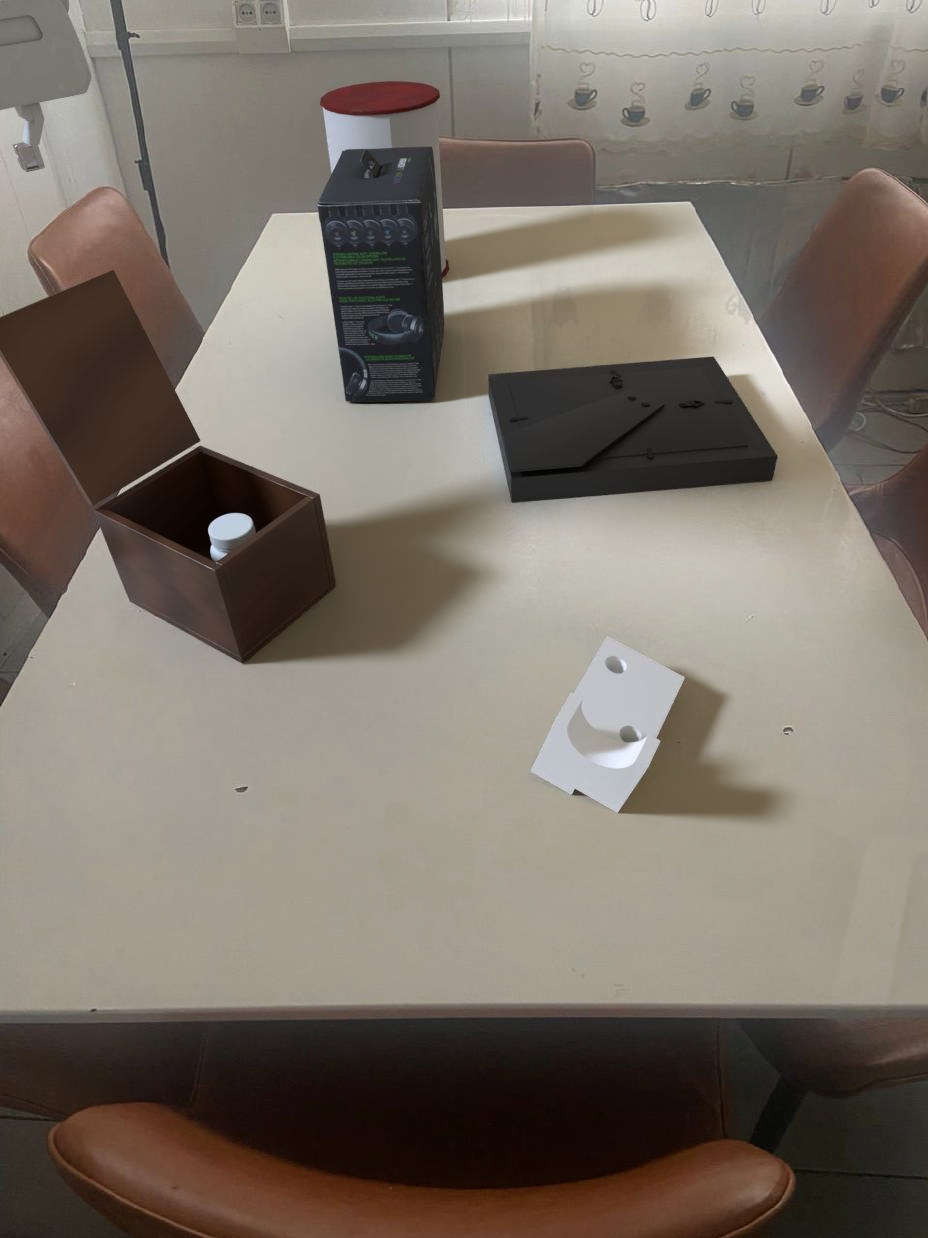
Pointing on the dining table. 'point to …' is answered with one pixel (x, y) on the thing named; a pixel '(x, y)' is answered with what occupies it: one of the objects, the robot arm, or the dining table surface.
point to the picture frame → (625, 429)
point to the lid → (96, 385)
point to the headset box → (385, 272)
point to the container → (385, 125)
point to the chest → (241, 580)
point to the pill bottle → (229, 533)
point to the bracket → (609, 726)
